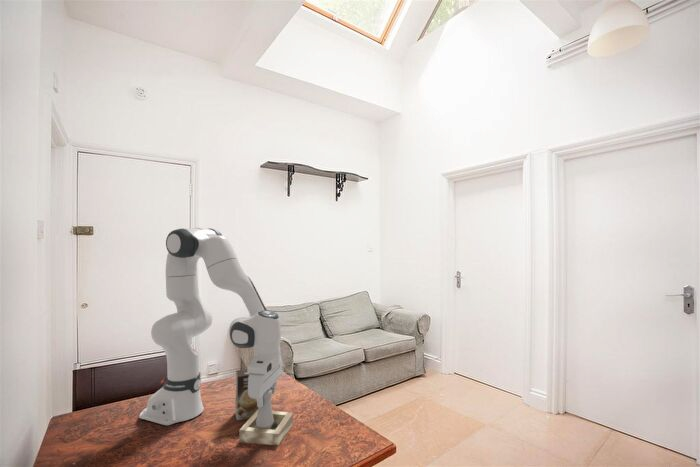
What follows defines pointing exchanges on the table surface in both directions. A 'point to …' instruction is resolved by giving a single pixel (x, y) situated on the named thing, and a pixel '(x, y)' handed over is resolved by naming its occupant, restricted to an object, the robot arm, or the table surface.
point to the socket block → (266, 436)
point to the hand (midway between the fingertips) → (266, 399)
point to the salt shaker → (265, 412)
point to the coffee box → (244, 397)
